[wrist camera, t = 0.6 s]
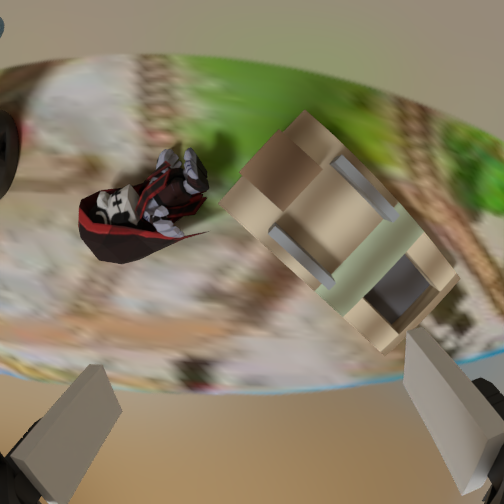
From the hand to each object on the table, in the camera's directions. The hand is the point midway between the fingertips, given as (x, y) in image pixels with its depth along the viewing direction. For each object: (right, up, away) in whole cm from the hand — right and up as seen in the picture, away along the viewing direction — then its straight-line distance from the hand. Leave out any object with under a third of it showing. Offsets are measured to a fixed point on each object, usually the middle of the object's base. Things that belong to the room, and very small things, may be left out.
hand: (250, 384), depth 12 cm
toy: (-11, +10, +24) cm, 28 cm away
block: (+3, +13, +19) cm, 23 cm away
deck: (+11, +7, +23) cm, 26 cm away
